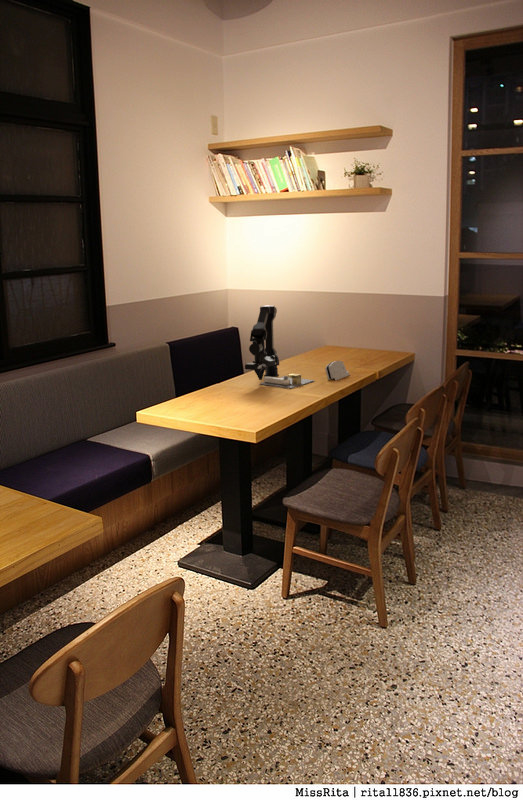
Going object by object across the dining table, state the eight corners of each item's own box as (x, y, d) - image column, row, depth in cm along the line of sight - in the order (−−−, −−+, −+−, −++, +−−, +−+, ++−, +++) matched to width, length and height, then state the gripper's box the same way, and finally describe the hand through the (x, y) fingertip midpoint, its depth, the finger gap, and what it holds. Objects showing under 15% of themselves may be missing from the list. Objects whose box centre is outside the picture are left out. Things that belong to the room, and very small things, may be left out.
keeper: (288, 384, 367) (287, 374, 366) (292, 382, 370) (292, 373, 369) (296, 385, 364) (296, 375, 362) (301, 384, 367) (301, 374, 365)
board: (259, 384, 370) (259, 383, 369) (283, 377, 385) (283, 376, 385) (290, 388, 356) (290, 387, 356) (314, 381, 372) (314, 380, 372)
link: (291, 383, 365) (291, 375, 364) (286, 385, 361) (286, 377, 360) (268, 380, 375) (267, 372, 374) (263, 381, 371) (262, 374, 370)
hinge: (335, 380, 372) (330, 363, 372) (328, 382, 375) (322, 365, 374) (350, 374, 385) (344, 357, 385) (343, 376, 388) (337, 360, 388)
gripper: (259, 355, 352) (261, 385, 355) (282, 349, 365) (283, 378, 369) (243, 353, 359) (244, 382, 362) (266, 348, 372) (267, 376, 376)
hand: (260, 380), depth 367 cm, fingers closed
